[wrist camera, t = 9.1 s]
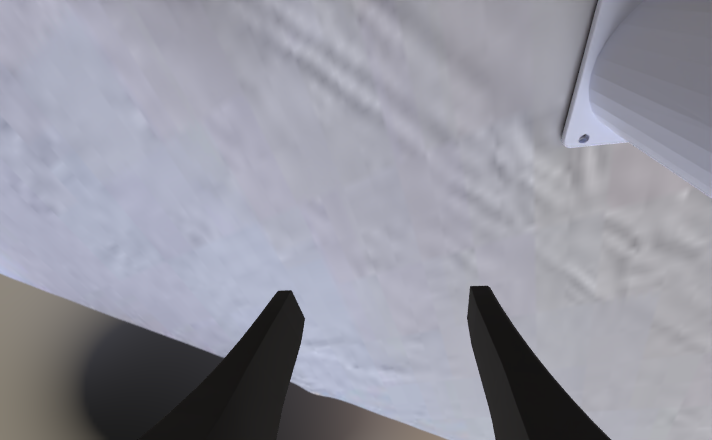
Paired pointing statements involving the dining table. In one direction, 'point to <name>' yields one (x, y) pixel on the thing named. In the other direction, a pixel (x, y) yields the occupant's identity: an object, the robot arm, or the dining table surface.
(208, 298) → the dining table surface
